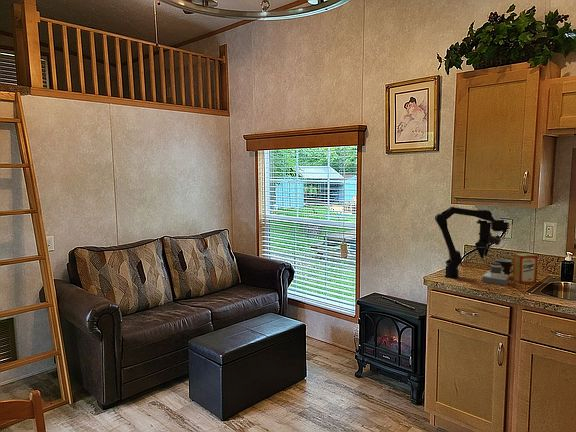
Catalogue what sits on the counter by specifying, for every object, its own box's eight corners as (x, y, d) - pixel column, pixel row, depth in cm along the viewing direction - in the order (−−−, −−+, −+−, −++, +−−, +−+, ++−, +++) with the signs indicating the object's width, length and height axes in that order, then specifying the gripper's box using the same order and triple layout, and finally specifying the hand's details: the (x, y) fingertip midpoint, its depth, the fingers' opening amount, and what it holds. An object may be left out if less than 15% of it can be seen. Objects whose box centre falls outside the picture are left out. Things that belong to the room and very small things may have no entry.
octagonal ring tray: (482, 282, 235) (482, 272, 234) (485, 279, 242) (486, 269, 241) (505, 285, 227) (506, 275, 227) (508, 282, 234) (509, 271, 234)
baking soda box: (519, 283, 232) (520, 255, 230) (513, 280, 238) (514, 253, 237) (536, 283, 232) (537, 255, 231) (529, 280, 239) (530, 253, 237)
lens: (496, 277, 231) (496, 264, 230) (488, 274, 236) (489, 262, 235) (503, 276, 233) (503, 263, 232) (495, 274, 238) (495, 261, 237)
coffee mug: (491, 275, 250) (492, 259, 249) (502, 274, 253) (502, 258, 252) (507, 280, 239) (508, 263, 238) (518, 278, 242) (519, 262, 241)
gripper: (496, 234, 230) (495, 261, 231) (503, 230, 245) (502, 256, 246) (475, 232, 237) (474, 259, 238) (483, 229, 251) (482, 254, 253)
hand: (484, 257), depth 244 cm, fingers open, 9 cm apart
